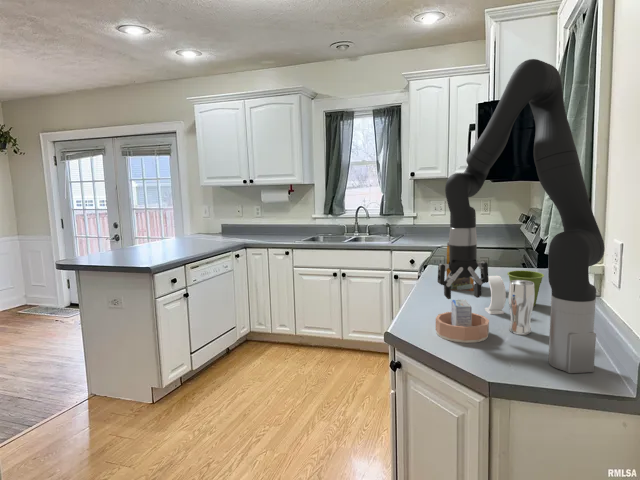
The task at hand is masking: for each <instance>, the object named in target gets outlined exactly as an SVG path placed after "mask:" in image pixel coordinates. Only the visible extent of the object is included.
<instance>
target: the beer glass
mask: <svg viewBox="0 0 640 480" xmlns="http://www.w3.org/2000/svg"><path fill="white" fill-rule="evenodd" d="M534 297H535V292H534V283H533V282H531V281H526V280H512V281H510V280H509V286H508V304H509V305H508V306H509V312H510V314H509V315H510V323H509V324H510V325H509V328H508V331H509V333H512V334H514V335H518V336H528V335H532V327H531V319H532V314H533V313H532V312H533V309H534V306H535V305H534ZM533 305H534V306H533Z"/></svg>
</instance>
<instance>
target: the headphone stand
mask: <svg viewBox="0 0 640 480" xmlns="http://www.w3.org/2000/svg"><path fill="white" fill-rule="evenodd" d="M488 280H489V281H488V282H487V283H488V285H489V288H490V304H489V306H488V307H484V311H485V312H487V313H488V314H489V315H504V314H505V311H504V310H503V309H504V307H505V306H506V305H505V304H506V300H507V298H506V297H507V294H506V293H507V292H506V286H505V283H504V280H503V279H502V277H501V276H500V275H488Z"/></svg>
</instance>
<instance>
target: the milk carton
mask: <svg viewBox="0 0 640 480" xmlns="http://www.w3.org/2000/svg"><path fill="white" fill-rule="evenodd" d="M449 261H450V260H449V241H447V243H446V264H449ZM450 272H451V271H450V269H449V268H447V271H446V277H447V276H448V274H449V273H450ZM474 284H475V281H474V280H473V279H472V278H471V277H469V278H465V277H464V278H456V280H455V281H453V282H452V284H451V285H450V287H451V291H465V292H466V291H467V292H474Z"/></svg>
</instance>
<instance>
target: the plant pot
mask: <svg viewBox="0 0 640 480" xmlns="http://www.w3.org/2000/svg"><path fill="white" fill-rule="evenodd" d="M507 276H508V277H509V282H510V281H512V280H526V281H531V282H533V283H534V292H535V297H534V305H533V307H535V306H536V305H537V300H538V295H539V292H540V291H539V290H540V286H541V284H542V280H543V278H544V277H545V274H543V273H542V272H539V271H533V270H532V271H531V270H523V269H522V270H511V271H508V272H507Z"/></svg>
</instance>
